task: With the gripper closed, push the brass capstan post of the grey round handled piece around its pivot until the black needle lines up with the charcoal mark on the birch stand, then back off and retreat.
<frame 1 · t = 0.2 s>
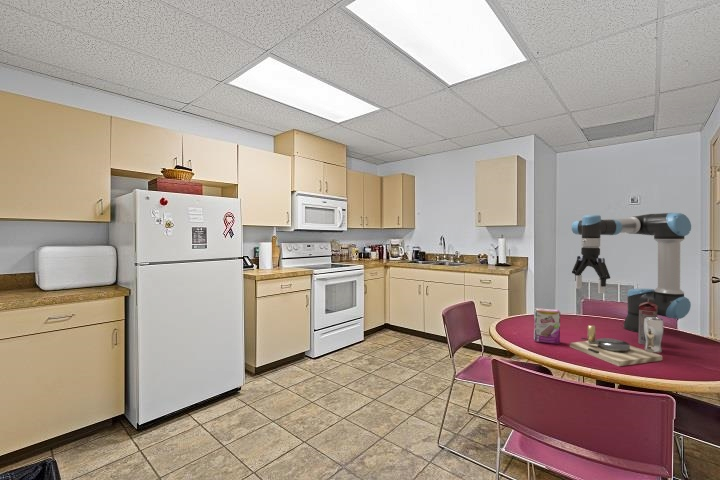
hand: (589, 290, 164), 27 cm above the table, tool pointing down, fingers open, 13 cm apart
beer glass: (653, 350, 157), on the table
juice carton: (647, 343, 167), on the table
grey round handled piece: (604, 336, 156), point 7 cm above the table, hinge at -35.0°
stand: (616, 352, 155), on the table
candy bar box: (546, 342, 170), on the table
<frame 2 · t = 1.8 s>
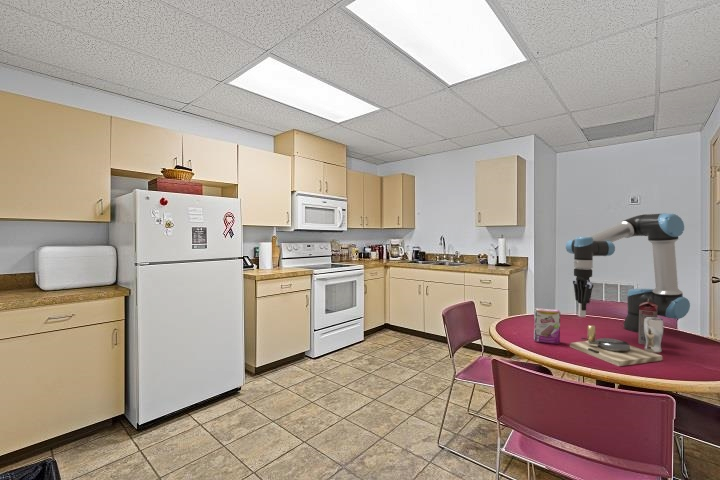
hand: (582, 316, 165), 14 cm above the table, tool pointing down, fingers closed
nothing on the table moved.
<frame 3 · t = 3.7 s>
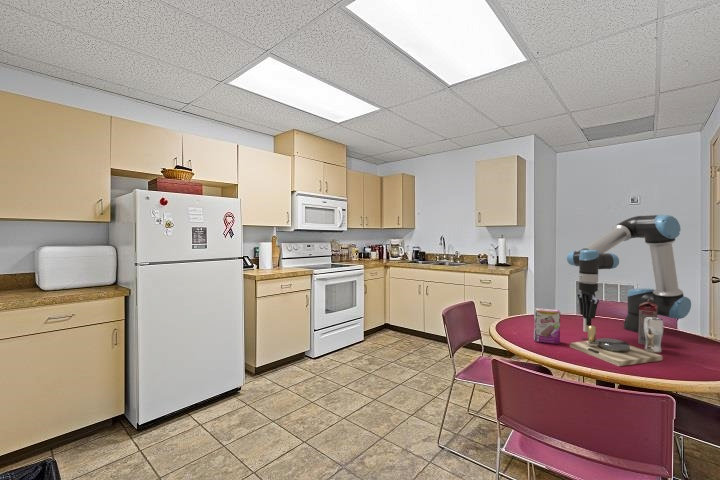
hand: (587, 331, 161), 8 cm above the table, tool pointing down, fingers closed
grey round handled piece: (604, 337, 156), point 7 cm above the table, hinge at -32.3°, touching gripper
everything else where it was.
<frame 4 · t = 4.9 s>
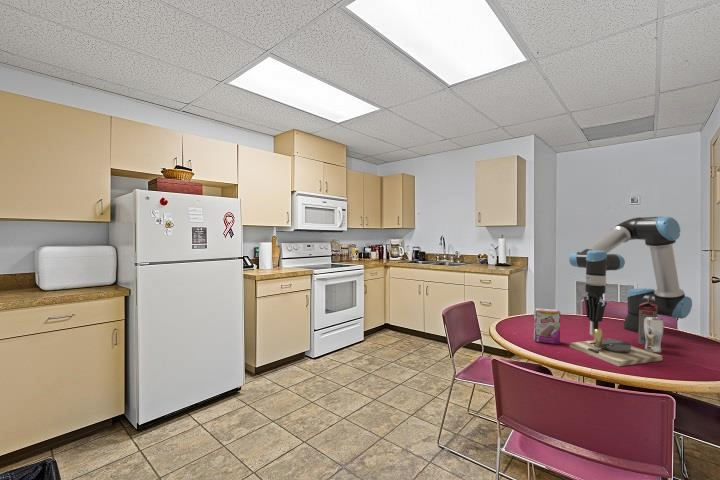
hand: (593, 335, 155), 8 cm above the table, tool pointing down, fingers closed
grey round handled piece: (608, 338, 154), point 7 cm above the table, hinge at -5.0°, touching gripper
everything else where it was.
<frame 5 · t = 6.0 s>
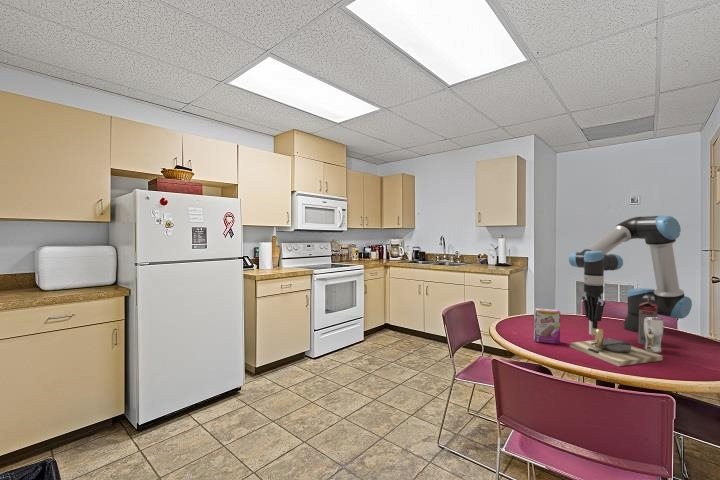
hand: (593, 334, 157), 8 cm above the table, tool pointing down, fingers closed
grey round handled piece: (608, 338, 154), point 7 cm above the table, hinge at -2.0°
everything else where it was.
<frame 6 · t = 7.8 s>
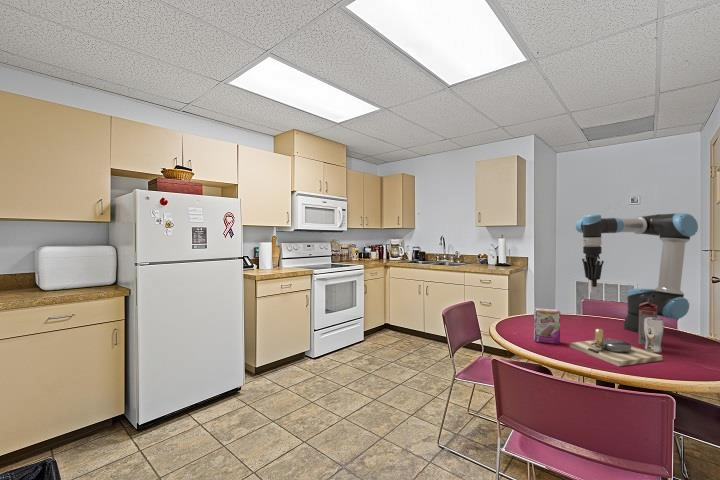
hand: (592, 292, 169), 25 cm above the table, tool pointing down, fingers closed
nothing on the table moved.
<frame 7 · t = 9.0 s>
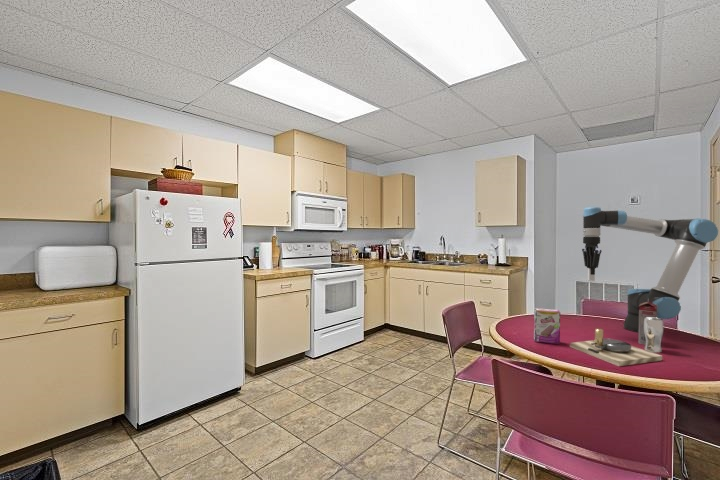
hand: (591, 280, 180), 29 cm above the table, tool pointing down, fingers closed
nothing on the table moved.
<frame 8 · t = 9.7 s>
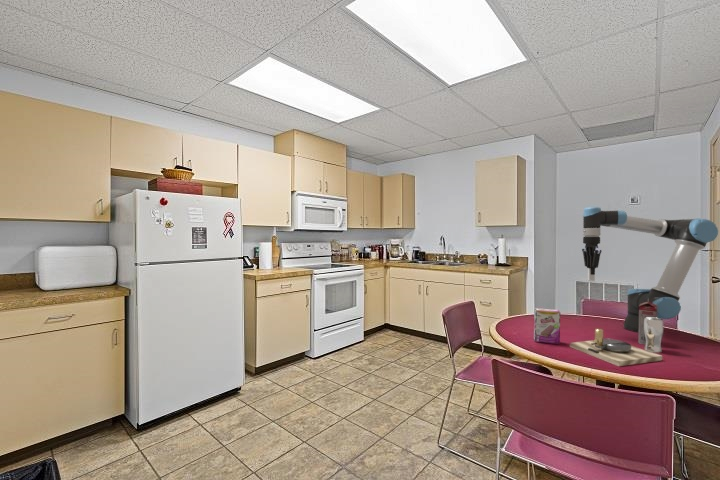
hand: (591, 280, 180), 29 cm above the table, tool pointing down, fingers closed
nothing on the table moved.
at the end: grey round handled piece at -2° (first picture: -35°); candy bar box moved 0.2 cm from its start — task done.
